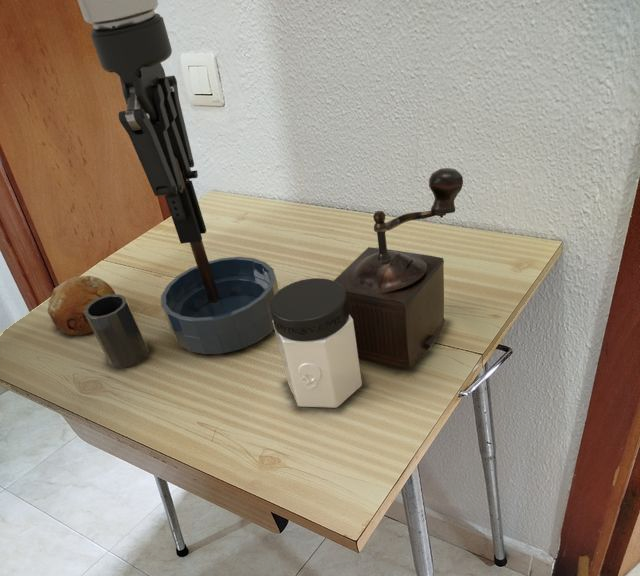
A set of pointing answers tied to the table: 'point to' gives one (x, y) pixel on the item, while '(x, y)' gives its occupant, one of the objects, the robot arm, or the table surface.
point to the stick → (202, 261)
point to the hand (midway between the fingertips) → (193, 236)
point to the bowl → (221, 306)
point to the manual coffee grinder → (400, 288)
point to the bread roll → (76, 303)
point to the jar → (316, 342)
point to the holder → (116, 330)
